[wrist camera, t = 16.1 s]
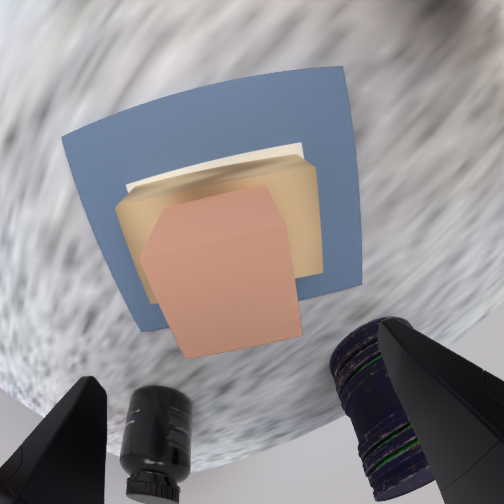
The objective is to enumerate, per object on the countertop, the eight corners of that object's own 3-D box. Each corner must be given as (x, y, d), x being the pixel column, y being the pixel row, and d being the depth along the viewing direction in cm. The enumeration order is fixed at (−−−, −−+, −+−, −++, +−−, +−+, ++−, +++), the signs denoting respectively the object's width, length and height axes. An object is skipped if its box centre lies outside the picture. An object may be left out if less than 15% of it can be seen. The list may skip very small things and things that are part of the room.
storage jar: (336, 393, 31) (374, 507, 18) (318, 342, 26) (371, 492, 13) (413, 359, 30) (469, 460, 17) (414, 300, 25) (499, 421, 12)
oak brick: (296, 153, 17) (315, 167, 14) (305, 241, 20) (323, 272, 17) (135, 186, 17) (114, 207, 14) (161, 269, 20) (150, 304, 17)
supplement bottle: (123, 381, 27) (103, 484, 16) (187, 384, 27) (184, 495, 17) (139, 415, 30) (128, 504, 19) (195, 418, 31) (195, 511, 20)
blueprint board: (337, 67, 16) (343, 66, 15) (358, 279, 23) (362, 285, 22) (66, 135, 16) (60, 137, 15) (143, 325, 23) (141, 332, 23)
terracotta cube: (265, 184, 14) (286, 224, 10) (281, 272, 16) (302, 335, 12) (163, 208, 14) (138, 258, 10) (192, 292, 16) (185, 358, 12)
